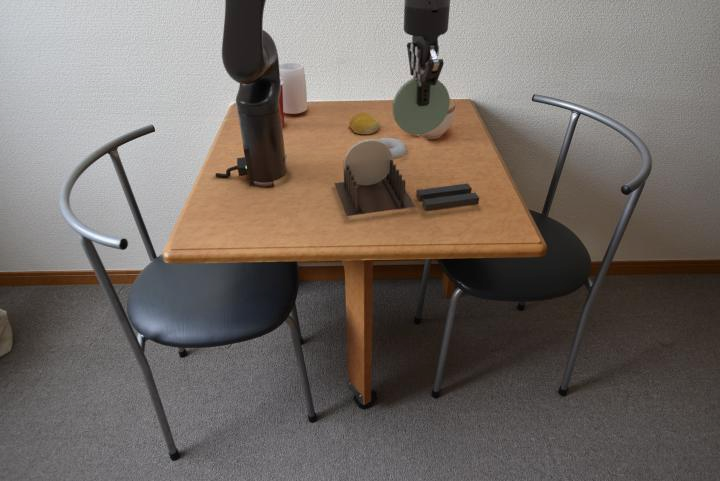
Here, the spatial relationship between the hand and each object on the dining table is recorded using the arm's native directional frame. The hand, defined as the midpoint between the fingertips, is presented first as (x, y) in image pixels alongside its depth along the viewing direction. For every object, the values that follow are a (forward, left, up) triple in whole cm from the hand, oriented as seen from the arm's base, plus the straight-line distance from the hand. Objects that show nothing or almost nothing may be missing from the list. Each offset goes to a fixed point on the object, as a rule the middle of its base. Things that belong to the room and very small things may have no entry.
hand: (421, 103), depth 89 cm
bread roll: (-1, +44, -24) cm, 50 cm away
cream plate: (-8, +10, -22) cm, 25 cm away
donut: (+1, +26, -24) cm, 35 cm away
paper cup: (-26, +52, -24) cm, 62 cm away
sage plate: (0, 0, -6) cm, 6 cm away
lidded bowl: (+16, +36, -24) cm, 46 cm away
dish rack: (-8, +6, -24) cm, 25 cm away
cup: (-19, +61, -24) cm, 68 cm away
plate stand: (+7, 0, -24) cm, 25 cm away
